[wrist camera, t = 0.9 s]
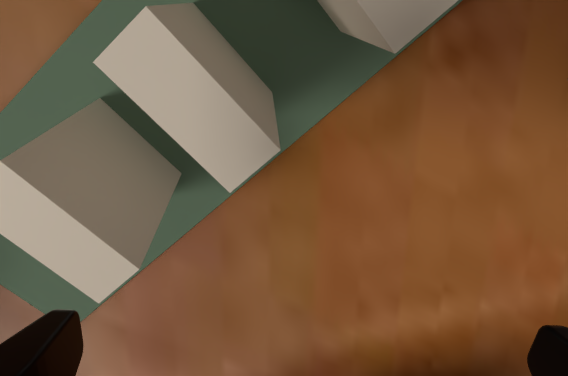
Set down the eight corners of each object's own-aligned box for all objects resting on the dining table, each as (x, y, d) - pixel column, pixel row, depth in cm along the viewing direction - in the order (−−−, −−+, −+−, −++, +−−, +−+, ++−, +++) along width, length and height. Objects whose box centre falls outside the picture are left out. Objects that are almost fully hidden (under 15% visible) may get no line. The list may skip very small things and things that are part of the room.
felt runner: (568, -92, 17) (573, -94, 17) (72, 326, 24) (70, 330, 24) (440, -371, 14) (444, -378, 13) (-92, 217, 21) (-97, 220, 21)
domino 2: (272, 92, 19) (280, 150, 12) (240, 120, 20) (230, 193, 12) (193, 2, 17) (145, 5, 10) (160, 35, 18) (93, 62, 11)
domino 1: (181, 173, 21) (139, 269, 13) (154, 198, 21) (98, 303, 14) (99, 97, 19) (-1, 160, 12) (71, 126, 19) (-42, 204, 12)
